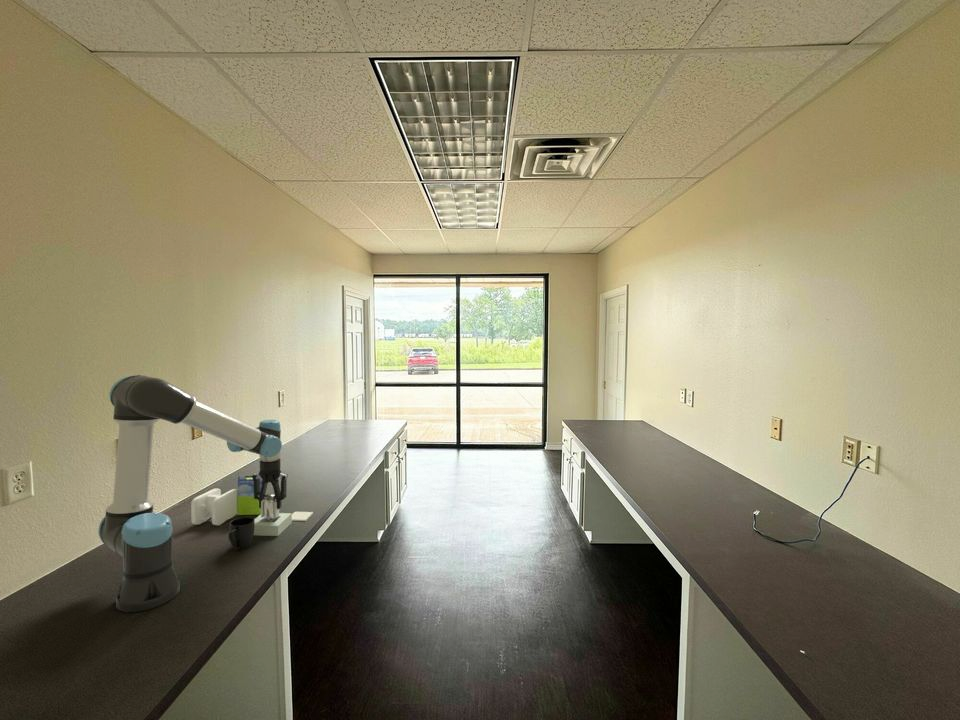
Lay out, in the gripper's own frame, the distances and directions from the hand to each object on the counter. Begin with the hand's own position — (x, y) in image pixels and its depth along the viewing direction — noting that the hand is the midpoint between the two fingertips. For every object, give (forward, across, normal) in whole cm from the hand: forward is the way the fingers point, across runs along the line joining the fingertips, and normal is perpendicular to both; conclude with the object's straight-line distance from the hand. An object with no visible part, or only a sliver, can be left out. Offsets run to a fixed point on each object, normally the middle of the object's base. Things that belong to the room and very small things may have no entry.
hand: (270, 516), depth 178 cm
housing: (+5, 0, 0) cm, 5 cm away
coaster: (+5, -7, -12) cm, 15 cm away
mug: (+5, +3, +17) cm, 18 cm away
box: (+5, +15, -14) cm, 21 cm away
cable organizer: (+5, +26, -6) cm, 27 cm away
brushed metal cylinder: (+5, 0, 0) cm, 5 cm away
